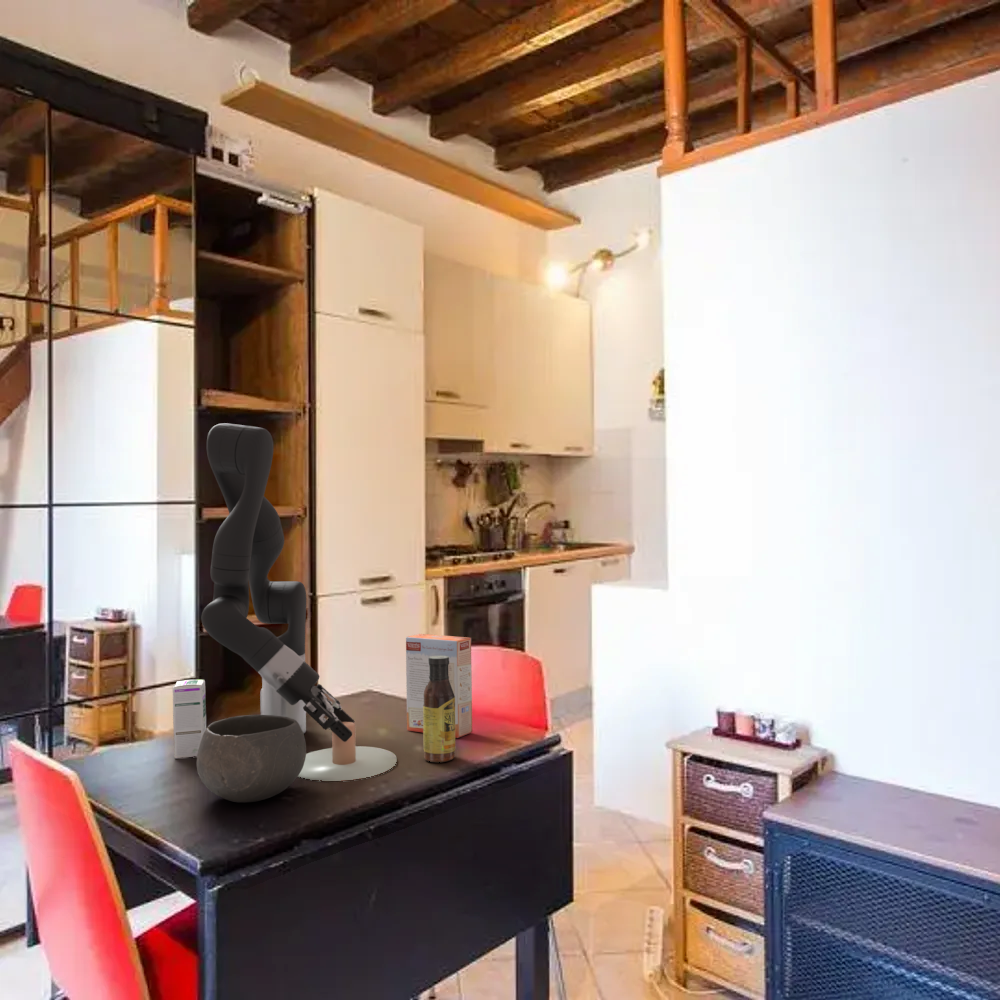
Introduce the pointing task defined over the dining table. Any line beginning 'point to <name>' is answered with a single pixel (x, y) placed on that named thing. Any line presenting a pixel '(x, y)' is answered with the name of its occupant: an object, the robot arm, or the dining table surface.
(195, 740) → the syrup box
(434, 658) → the sauce bottle
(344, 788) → the dining table surface
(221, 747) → the bowl
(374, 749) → the lid
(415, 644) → the cracker box
